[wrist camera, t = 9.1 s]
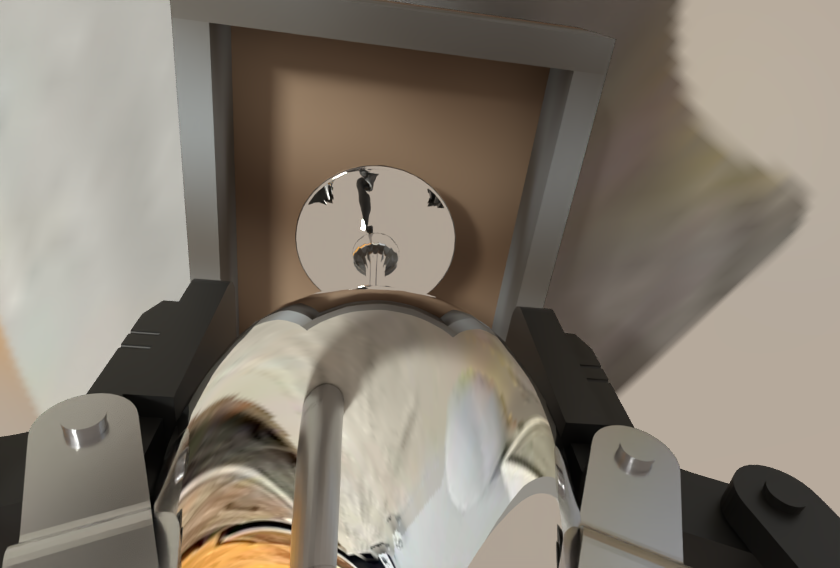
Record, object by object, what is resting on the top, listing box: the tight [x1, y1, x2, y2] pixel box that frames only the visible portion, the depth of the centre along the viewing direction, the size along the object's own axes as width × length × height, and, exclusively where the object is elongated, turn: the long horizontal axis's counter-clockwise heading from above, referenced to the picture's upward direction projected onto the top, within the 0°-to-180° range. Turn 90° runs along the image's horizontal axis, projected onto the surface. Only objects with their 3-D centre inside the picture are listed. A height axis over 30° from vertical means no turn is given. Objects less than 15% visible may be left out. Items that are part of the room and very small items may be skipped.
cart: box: [170, 0, 616, 341], centre depth 18 cm, size 12×10×5 cm
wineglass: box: [149, 165, 581, 568], centre depth 11 cm, size 6×6×12 cm
